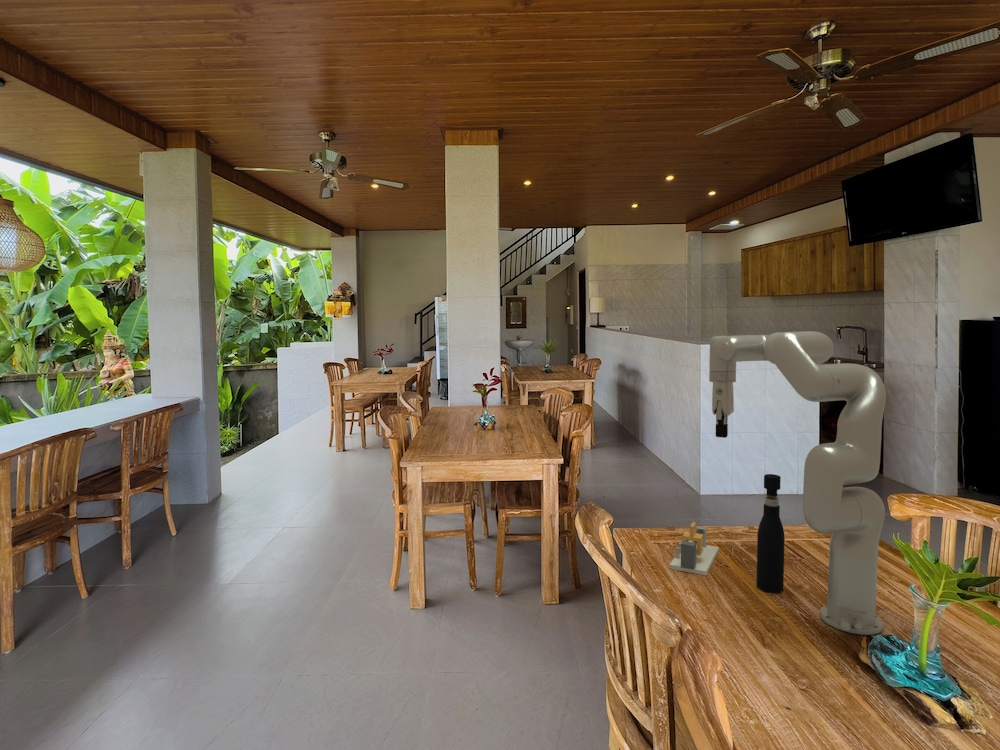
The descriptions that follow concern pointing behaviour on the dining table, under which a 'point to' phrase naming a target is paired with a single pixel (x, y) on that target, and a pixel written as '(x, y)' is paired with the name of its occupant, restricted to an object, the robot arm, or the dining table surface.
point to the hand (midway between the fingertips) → (721, 436)
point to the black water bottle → (770, 541)
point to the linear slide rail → (694, 556)
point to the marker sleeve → (694, 538)
